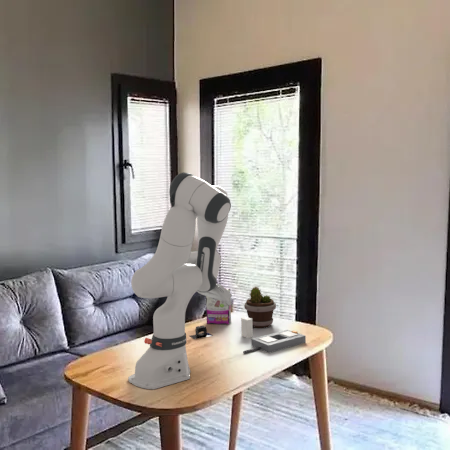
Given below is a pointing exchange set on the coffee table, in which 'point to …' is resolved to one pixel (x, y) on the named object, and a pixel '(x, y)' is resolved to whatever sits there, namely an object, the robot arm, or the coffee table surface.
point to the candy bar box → (218, 311)
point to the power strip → (277, 341)
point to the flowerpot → (260, 308)
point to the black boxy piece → (201, 335)
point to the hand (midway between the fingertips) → (223, 301)
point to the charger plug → (246, 327)
